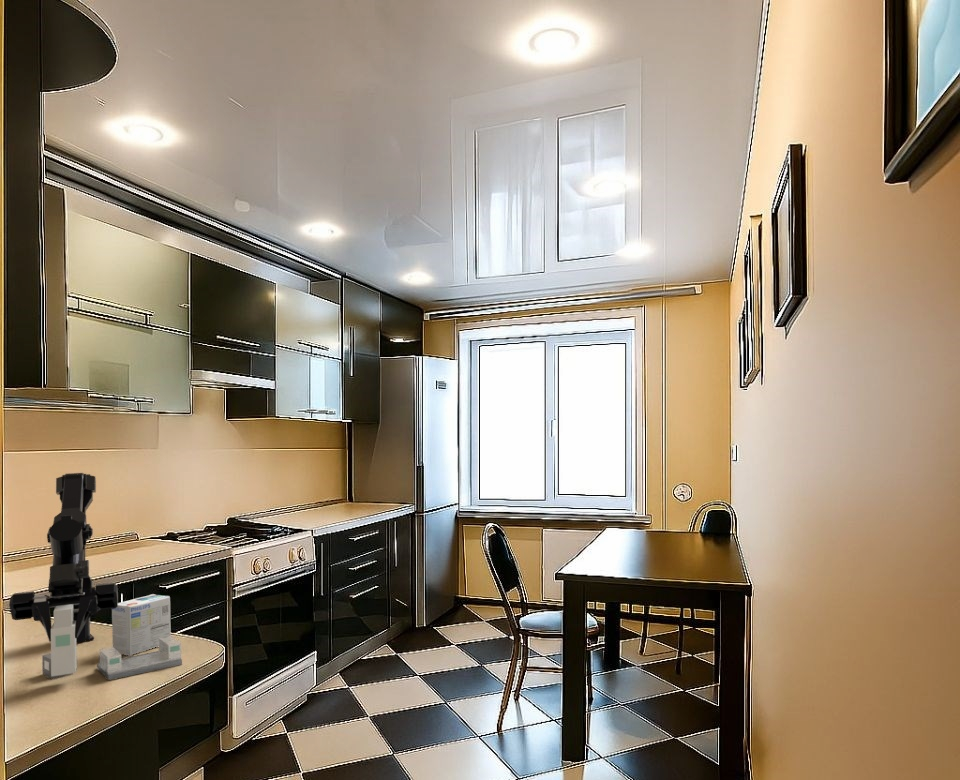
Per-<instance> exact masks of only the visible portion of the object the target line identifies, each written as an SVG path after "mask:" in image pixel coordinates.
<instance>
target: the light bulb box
mask: <svg viewBox="0 0 960 780" xmlns="http://www.w3.org/2000/svg"><path fill="white" fill-rule="evenodd" d="M111 628H112V629H111V630H112V647H113V648H115V649H116V650H117V651H118V652H119V653H120V654H121V655H123V654H124V656H127V655H128V656H127V657H131V656H134V655H136V653H137V654H140V653H144V652H147V651H150V650H152V648H153V649H156V648H159V647H158V646H159V638H161V637H167V636H172V635H171V631H172V630H171V597H170V595H161V594H154V593H152V594H148V595H146V596H141V597H135V598H133V599H130V600H126V601H125V600H124V601H122V602H118V607H116V608H114V609H111ZM155 647H156V648H155ZM149 649H150V650H149ZM146 650H147V651H146ZM143 651H144V652H143ZM139 652H140V653H139ZM133 654H134V655H133ZM130 655H131V656H130Z"/></svg>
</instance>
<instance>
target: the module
mask: <svg viewBox="0 0 960 780" xmlns="http://www.w3.org/2000/svg"><path fill="white" fill-rule="evenodd" d="M51 625H52V627H51V642H50V653H51V677H52V676H59V675H65V674H71V675H73V674H75V673H76V670H77V665H78V660H77V658H78V656H77V654H78V653H77V650H78V648H77V638H75V626H76V621H73V604H69V605H61V606H56V607H54V610H53V623H52V624H51ZM72 673H73V674H72Z"/></svg>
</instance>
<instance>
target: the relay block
mask: <svg viewBox="0 0 960 780" xmlns="http://www.w3.org/2000/svg"><path fill="white" fill-rule="evenodd" d="M41 659H42V660H41V661H42V670H41V671H42V675H43V676H45V677H46V678H48V679H50V680H55V679H56V680H57V679H59V678H63V677H67V676H71V675H74V673H72V674H65V675H59V676H52V677H51V652H50V653H46V654H42V658H41Z"/></svg>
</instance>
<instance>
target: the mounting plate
mask: <svg viewBox="0 0 960 780" xmlns="http://www.w3.org/2000/svg"><path fill="white" fill-rule="evenodd" d="M181 665H183V659H182V641H179V640H178V639H176V638H175V637H174V636H172V635H171V636H167V637H161V638H159V647H158V650H157V651H151V652H147V653H142V654H138V655H131V656H126V657H122V654H120V653H119V652H118V651H117V650H116V649H115V648H113V646H111V647H106V648H102V649H99V662H97V664H96V669H97V670H98V671H99V672H100V674H101V675H102V676H103V677H106V678H107V679H106V678H105V679H106V680H107V681H108V680H110V681H113V680H112V679H114V680H118V679H117V678H119V679H123V678H126V677H127V676H128V677H131V676H136V675H140V674H144V673H145V674H146V673H149V672H155V671H157V670H158V671H159V670H162V669H168V668H172V667H176V666H181ZM122 677H123V678H122Z"/></svg>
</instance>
